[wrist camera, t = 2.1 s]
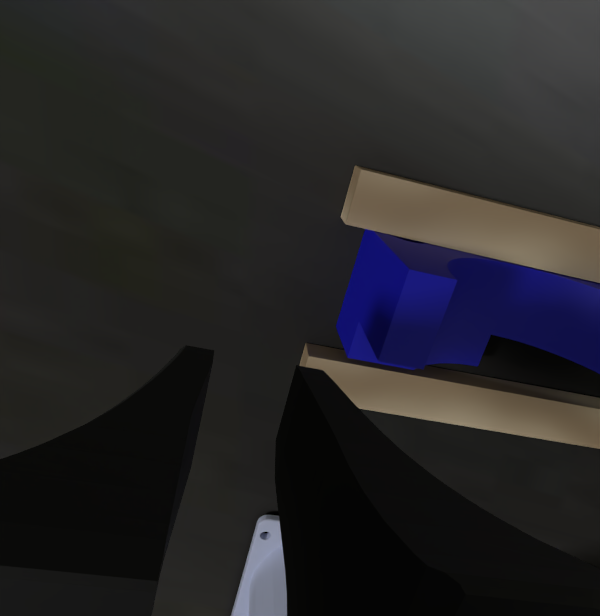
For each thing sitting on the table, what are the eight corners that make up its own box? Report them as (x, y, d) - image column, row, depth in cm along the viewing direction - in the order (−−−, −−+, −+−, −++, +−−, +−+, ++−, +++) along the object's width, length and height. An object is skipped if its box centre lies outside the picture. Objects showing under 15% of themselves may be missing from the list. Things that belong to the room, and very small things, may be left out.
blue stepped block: (335, 324, 21) (364, 402, 16) (365, 222, 20) (409, 269, 14) (581, 373, 23) (682, 457, 18) (626, 284, 22) (752, 346, 16)
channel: (697, 452, 26) (762, 503, 22) (294, 383, 22) (301, 431, 19) (809, 280, 22) (903, 310, 19) (355, 165, 19) (376, 178, 15)
